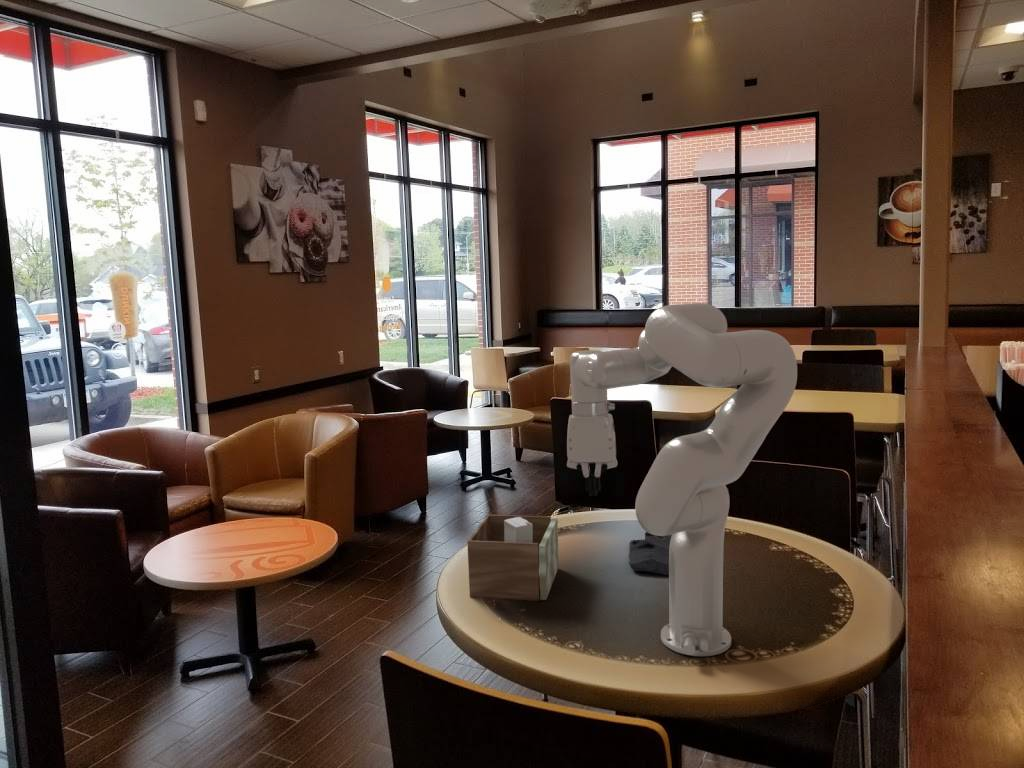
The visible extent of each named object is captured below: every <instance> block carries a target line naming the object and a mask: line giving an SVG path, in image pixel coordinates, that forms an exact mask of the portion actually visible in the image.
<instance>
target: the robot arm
mask: <svg viewBox="0 0 1024 768" xmlns="http://www.w3.org/2000/svg"><path fill="white" fill-rule="evenodd" d="M644 326H645V327H644V329H643V330H642V331H641V333H640V335H639V338H638V344H637V345H638V347H634V348H623V349H616V350H615V349H613V350H607V351H605V350H604V351H601V350H597V349H591V350H590V349H587V350H577V351H574V352H572V353H571V355H570V358H569V367H570V368H569V372H570V374H569V375H570V394H571V395H570V396H571V398H570V399H571V414H570V415H568V416H569V417H568V422H567V423H568V424H567V431H566V432H567V435H566V436H567V437H566V451H567V452H566V456H567V462H566V466H567V468H570V469H574V470H578V472H580V474H581V475H582V476H583V477H584V478H585V479H584V480H585V491H586V492H588V496H589V497H592V496H594V497H597V495H598V492H601V475H603V473H605V471H607V470H609V469H613V468H617V466H618V460H617V441H616V432H615V424H614V418H613V415H612V414H611V413H609V412H610V411H614V410H615V409H616V407H615V403H612V402H610V401H608V390H609V389H617V388H625V387H631V386H638V385H642V384H645V383H647V382H648V383H649V382H650V381H653V380H655V379H657V378H660V377H662V376H664V375H666V374H668V373H669V371H671V368H672V367H673V368H674V369H676V370H677V371H679V372H680V373H682V374H683V375H685V376H687V378H689V379H691V380H693V381H694V382H696V383H697V384H700V385H702V386H705V387H707V388H719V389H721V388H726V387H733V386H734V387H735V386H739V388H737V390H735V392H734V393H732V394H731V396H729V397H728V398H727V399H726V400H725V402H724V403H723V404H722V406H721V407H720V409H719V411H718V413H717V414H716V415H715V417H714V419H713V421H712V422H711V424H710V425H709V426H708V427H706V429H704V430H701V431H698V432H695V433H690V434H685V435H680V436H678V437H674V438H673V439H671V440H670V441H668V442H667V443H666V444H665V445H663V447H662V448H661V449H660V450H659V452H658V454H657V455H656V457H655V459H654V460H653V463H652V464H651V467H650V468H649V470H648V473H647V474H646V476H645V477H644V480H643V482H642V484H641V485H640V488H639V489H638V491H637V495H636V498H635V504H634V505H635V506H634V508H635V516H636V520H637V521H638V522H637V523H638V524H639V525H640V527H641V528H642V529H643V530H644V531H645V532H648V533H650V534H652V535H656V536H667V535H671V534H672V537H671V541H670V547H669V576H668V589H669V590H668V596H669V598H668V603H669V604H668V607H669V609H668V611H669V612H668V621H669V623H667V624H666V625H664V626H663V627H662V629H661V630H660V640H661V642H662V643H663V644H664V646H666V647H667V648H668V649H670V650H672V651H673V652H675V653H679V654H681V655H685V656H686V655H687V656H691V657H712V656H718V655H720V654H723V653H724V652H726V651H728V650H729V648H730V647H731V645H732V636H731V633H730V632H729V631H728V630H727V629H726V628H725V627H723V621H724V620H723V618H724V617H723V616H724V614H723V613H724V612H723V609H724V607H723V603H724V596H723V595H724V589H723V588H724V543H725V542H724V541H725V531H726V526H727V520H728V515H729V512H730V511H729V510H730V494H729V489H728V488H727V486H726V485H729V484H731V483H734V482H735V481H737V480H738V479H739V478H741V476H742V475H743V474H744V472H745V471H746V469H747V468H748V466H749V465H750V463H751V461H753V458H754V457H755V455H756V454H757V452H758V450H759V449H760V447H761V446H762V444H763V442H764V441H765V439H766V437H767V436H768V434H769V432H770V431H771V430H772V428H773V426H774V425H775V424H776V422H777V421H778V419H779V418H780V416H781V415H782V414H783V413H784V411H785V409H786V408H787V406H788V405H789V403H790V401H791V399H792V397H793V395H794V393H795V389H796V386H797V382H798V381H797V380H798V364H797V359H796V355H795V352H794V350H793V347H792V346H791V344H790V343H789V341H788V340H787V339H786V338H785V337H784V336H783V335H780V334H779V333H777V332H773V331H772V330H764V329H747V330H740V331H731V332H730V331H729V332H727V330H728V322H727V318H726V316H725V315H724V313H723V311H721V310H720V309H719V308H718V307H716V306H714V305H712V304H709V303H704V302H694V303H683V304H669V305H668V304H667V305H664V306H661V307H659V308H658V307H657V308H656V309H655V310H654V311H653V312H652V313H651V314H650V315H649V316H648V318H647V320H646V323H645V325H644ZM590 464H595V469H594V472H593V474H592V471H591V469H590Z"/></svg>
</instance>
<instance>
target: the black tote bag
mask: <svg viewBox="0 0 1024 768" xmlns="http://www.w3.org/2000/svg"><path fill="white" fill-rule="evenodd" d="M671 537H672V534H671V535H667V536H656V535H652V534H650V533H648V532H647V531H645V532H644V539H633V540H632V539H631V540H630V542H629V552H628V557H629V562H628V565H629V567H630V569H631V570H633V571H635V572H647V573H653V574H656V575H662V576H667V577H669V547H670V541H671Z"/></svg>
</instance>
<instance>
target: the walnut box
mask: <svg viewBox="0 0 1024 768" xmlns="http://www.w3.org/2000/svg"><path fill="white" fill-rule="evenodd" d="M515 517H521V518H523V519H525V520H527V521H528V522H529V523H531V524H532V525H533V543H523V542H504V520H507V519H511V518H515ZM551 520H552V516H543V515H542V516H540V515H518V514H517V515H514V514H513V515H509V514H490V513H489V514H486V515H485V517H484V518H483V520H482V521H481V522H480V524H479V525H478V526H477V528H476V529H475V531H474V532H473V533H472V534H471V536H470V537H469V538H468V540H467V542H466V544H467V561H468V562H467V563H468V565H467V566H468V583H469V585H468V586H469V587H468V588H469V597H470V598H481V599H482V598H483V599H498V600H499V599H500V600H501V599H502V600H516V601H517V600H518V601H531V602H532V601H534V602H540V601H541V600H540V591H539V562H538V551H539V545H540V543H541V541H542V539H543V537H544V535H545V532H546V530H547V528H548V526H549V524H550V522H551Z"/></svg>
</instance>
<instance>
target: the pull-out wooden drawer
mask: <svg viewBox="0 0 1024 768" xmlns="http://www.w3.org/2000/svg"><path fill="white" fill-rule="evenodd" d="M558 522H559V521H558V518H555V517H551V522H550V524H549V526H548V528H547V530H546V532H545V535H544V537H543V539H542V541H541V543H540V545H539V551H538V562H539V591H540V600H539V601H546V600H547V599H548V596H549V594H550V590H551V589H552V585H553V584H554V580H555V577H556V575H557V573H558V570H559V568H560V567H559V566H560V565H559V563H560V562H559V532H558V531H559V529H558V528H559V527H558V525H559V524H558Z"/></svg>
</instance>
